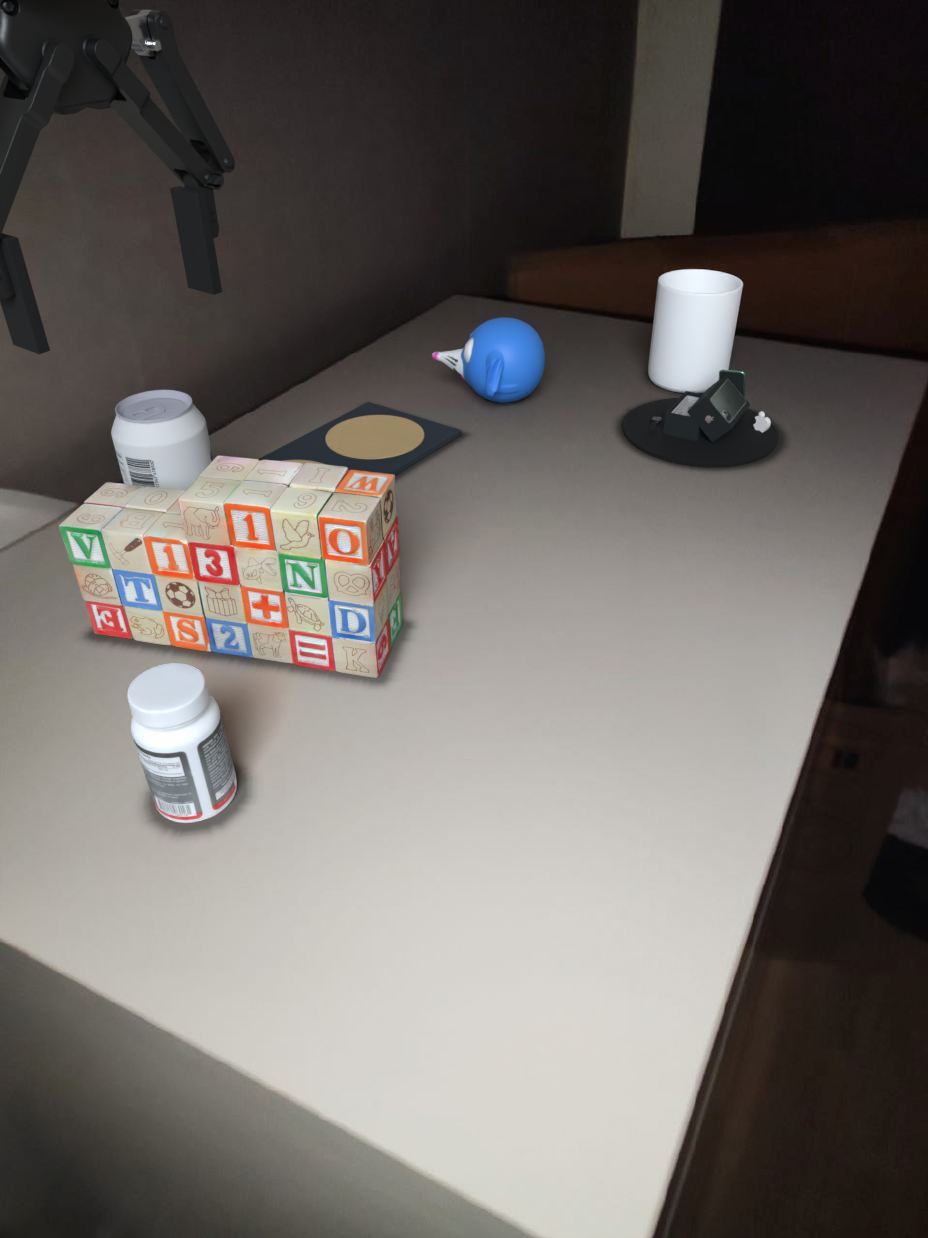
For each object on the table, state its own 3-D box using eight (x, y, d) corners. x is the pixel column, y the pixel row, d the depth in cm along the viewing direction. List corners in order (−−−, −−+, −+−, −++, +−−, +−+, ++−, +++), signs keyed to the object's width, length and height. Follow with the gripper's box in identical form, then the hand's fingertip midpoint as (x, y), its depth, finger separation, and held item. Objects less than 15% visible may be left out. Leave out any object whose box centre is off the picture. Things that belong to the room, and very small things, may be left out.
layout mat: (191, 499, 80) (190, 493, 80) (368, 406, 96) (368, 400, 96) (289, 541, 75) (288, 534, 74) (461, 435, 90) (460, 428, 90)
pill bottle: (220, 753, 55) (194, 645, 50) (250, 802, 52) (226, 693, 47) (143, 785, 53) (108, 677, 48) (170, 838, 50) (135, 728, 45)
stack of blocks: (91, 637, 65) (42, 483, 57) (136, 588, 70) (95, 440, 62) (380, 679, 61) (366, 519, 53) (405, 623, 66) (396, 470, 58)
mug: (736, 360, 105) (753, 264, 99) (719, 400, 96) (736, 297, 90) (662, 351, 108) (673, 256, 101) (639, 389, 99) (650, 288, 92)
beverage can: (244, 541, 75) (219, 404, 68) (169, 575, 71) (134, 433, 64) (199, 511, 79) (171, 378, 72) (126, 542, 75) (88, 404, 68)
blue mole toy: (444, 372, 103) (442, 297, 98) (549, 379, 101) (552, 302, 96) (420, 417, 94) (417, 336, 89) (535, 425, 92) (539, 343, 87)
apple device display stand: (753, 481, 82) (764, 424, 79) (599, 444, 88) (603, 391, 85) (794, 418, 93) (806, 366, 89) (653, 390, 99) (660, 340, 95)
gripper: (-192, -101, 37) (-22, 393, 50) (259, -94, 53) (300, 279, 66) (-270, -98, 41) (-93, 362, 53) (175, -93, 57) (229, 261, 69)
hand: (124, 317), depth 60 cm, fingers open, 13 cm apart
